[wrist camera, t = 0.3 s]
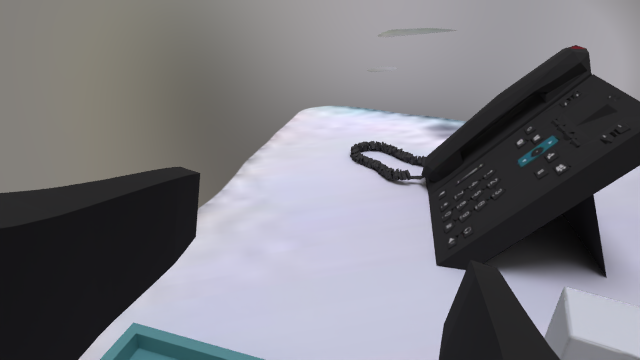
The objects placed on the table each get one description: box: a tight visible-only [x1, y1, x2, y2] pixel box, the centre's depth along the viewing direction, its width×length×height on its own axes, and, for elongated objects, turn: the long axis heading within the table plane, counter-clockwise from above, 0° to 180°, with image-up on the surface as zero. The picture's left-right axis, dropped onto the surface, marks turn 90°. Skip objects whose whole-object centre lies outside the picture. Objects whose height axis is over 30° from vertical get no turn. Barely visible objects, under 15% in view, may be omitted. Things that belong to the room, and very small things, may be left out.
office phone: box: [350, 45, 640, 276], centre depth 52 cm, size 29×28×20 cm
